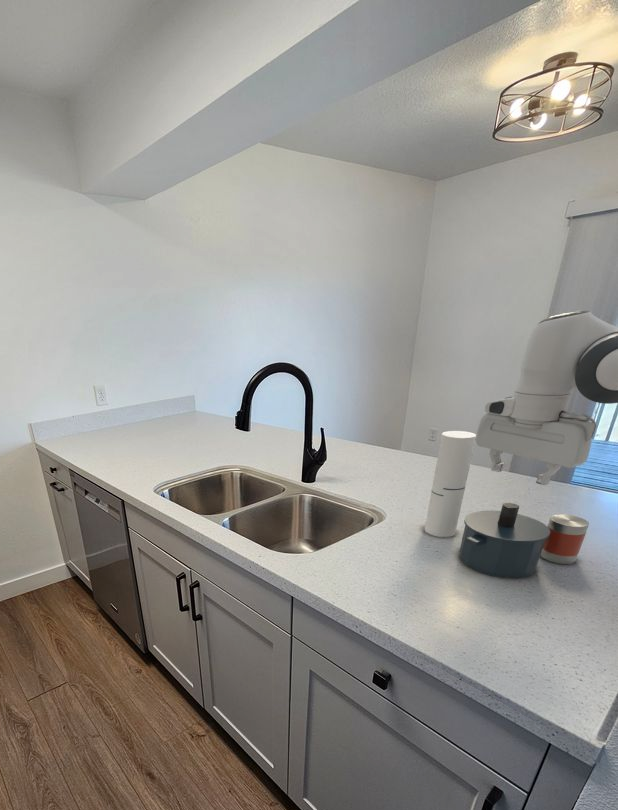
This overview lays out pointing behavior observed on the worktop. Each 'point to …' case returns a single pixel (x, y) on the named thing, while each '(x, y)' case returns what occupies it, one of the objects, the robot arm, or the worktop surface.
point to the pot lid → (507, 525)
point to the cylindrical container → (449, 482)
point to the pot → (499, 555)
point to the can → (564, 538)
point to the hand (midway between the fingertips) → (518, 477)
